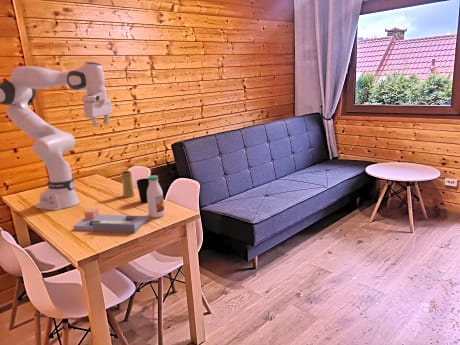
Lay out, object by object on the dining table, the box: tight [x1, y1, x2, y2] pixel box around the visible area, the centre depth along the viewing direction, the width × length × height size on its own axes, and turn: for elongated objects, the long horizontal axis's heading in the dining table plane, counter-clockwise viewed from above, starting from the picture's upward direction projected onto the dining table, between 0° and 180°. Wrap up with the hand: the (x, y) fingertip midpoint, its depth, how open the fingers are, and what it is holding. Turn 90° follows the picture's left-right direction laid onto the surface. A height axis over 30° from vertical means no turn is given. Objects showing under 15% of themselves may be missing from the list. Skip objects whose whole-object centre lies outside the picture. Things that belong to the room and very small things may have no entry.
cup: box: [136, 177, 149, 204], centre depth 196 cm, size 8×8×12 cm
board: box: [73, 213, 149, 234], centre depth 167 cm, size 30×15×4 cm, turn 79°
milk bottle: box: [147, 174, 166, 219], centre depth 174 cm, size 8×8×20 cm
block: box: [83, 208, 100, 219], centre depth 172 cm, size 4×4×4 cm
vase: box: [120, 170, 135, 198], centre depth 206 cm, size 6×6×14 cm
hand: (101, 125), depth 178 cm, fingers open, 8 cm apart
